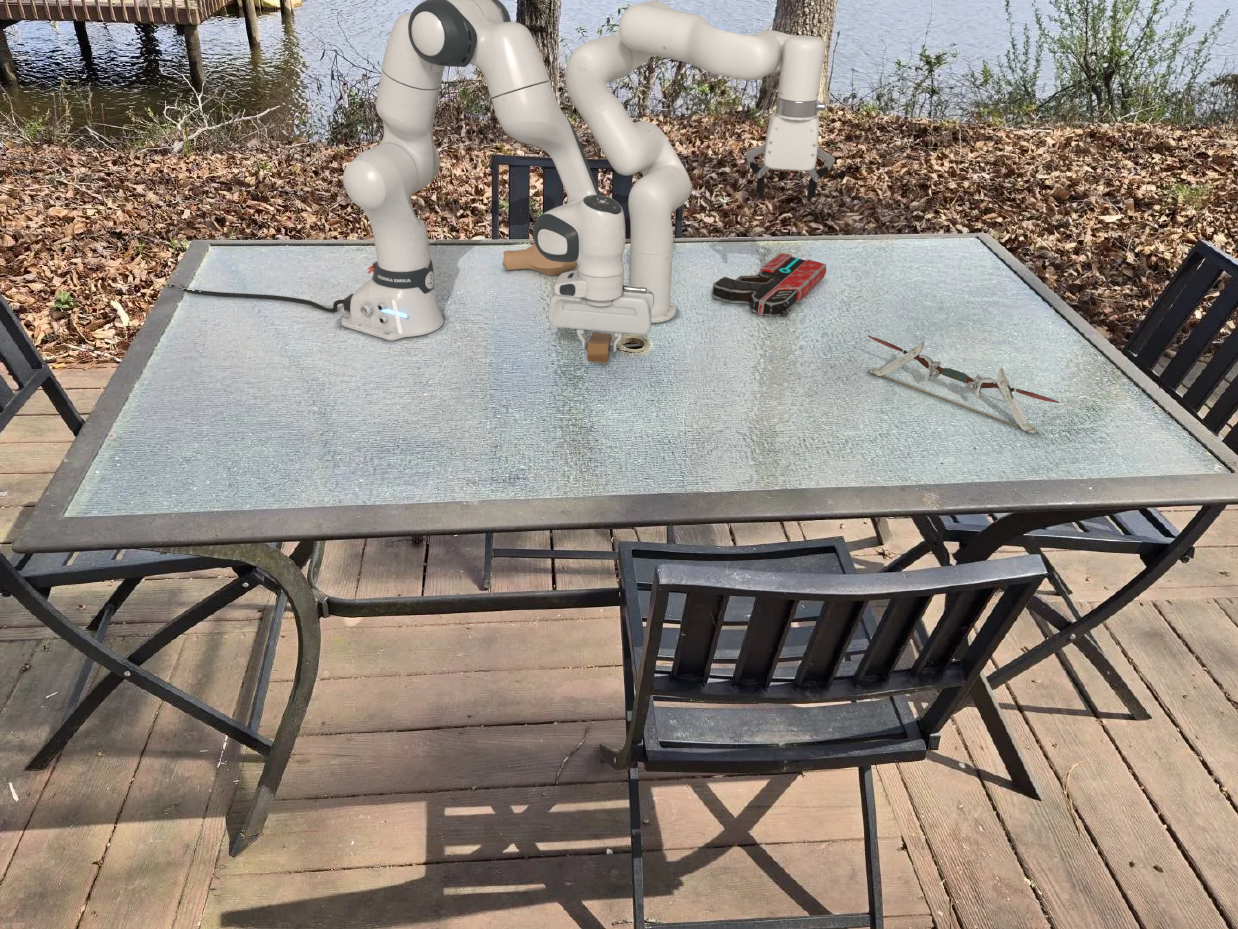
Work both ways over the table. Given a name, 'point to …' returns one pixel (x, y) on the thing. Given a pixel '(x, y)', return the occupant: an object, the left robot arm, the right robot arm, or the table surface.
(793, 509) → the table surface
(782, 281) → the gun
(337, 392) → the table surface
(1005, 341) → the table surface
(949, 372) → the bow
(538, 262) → the squash
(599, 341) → the block
